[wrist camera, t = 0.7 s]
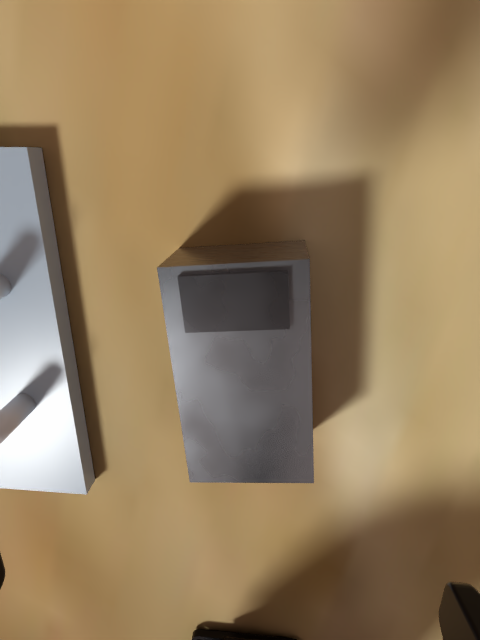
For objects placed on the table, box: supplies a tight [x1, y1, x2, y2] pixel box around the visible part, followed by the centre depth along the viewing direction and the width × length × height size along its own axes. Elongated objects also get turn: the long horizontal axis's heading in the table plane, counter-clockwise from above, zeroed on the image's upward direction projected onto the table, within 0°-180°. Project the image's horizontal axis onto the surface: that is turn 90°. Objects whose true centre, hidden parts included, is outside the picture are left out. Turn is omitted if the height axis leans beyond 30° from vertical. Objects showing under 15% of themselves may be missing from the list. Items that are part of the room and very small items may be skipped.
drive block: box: [157, 240, 314, 483], centre depth 17 cm, size 9×5×4 cm, turn 5°
